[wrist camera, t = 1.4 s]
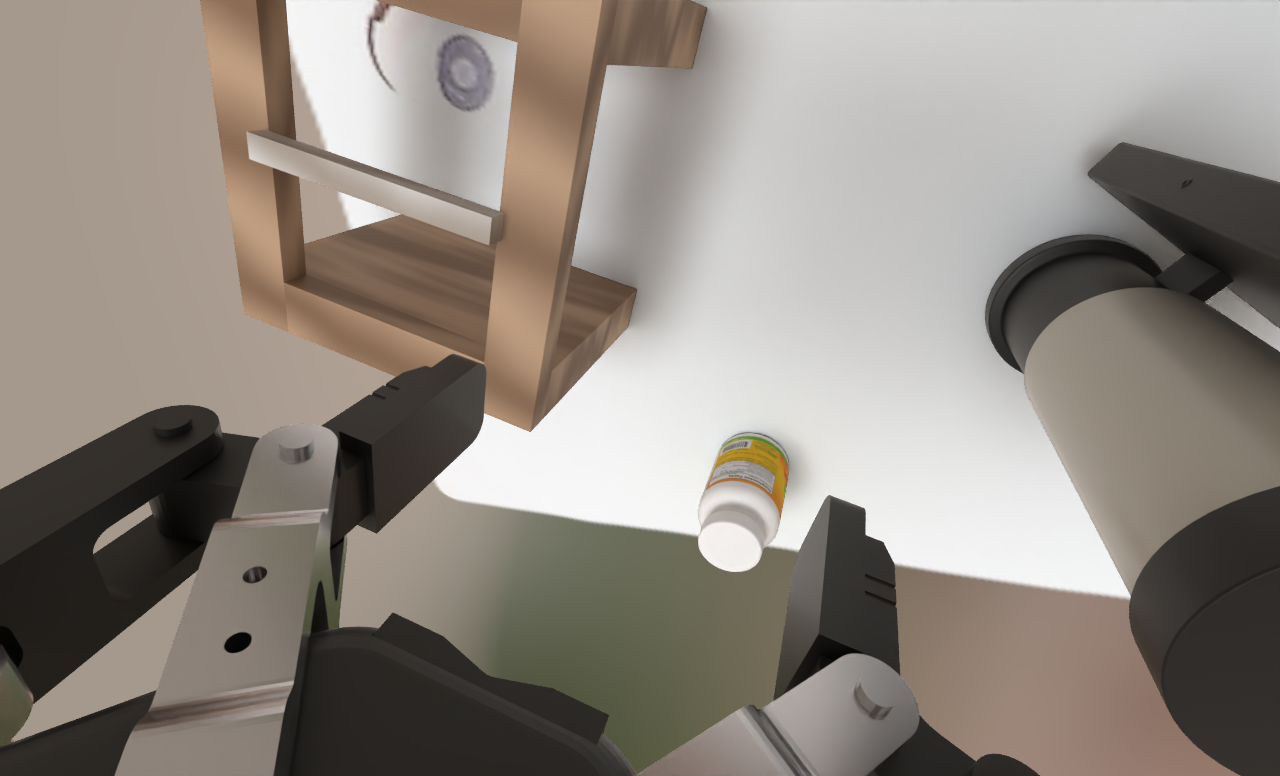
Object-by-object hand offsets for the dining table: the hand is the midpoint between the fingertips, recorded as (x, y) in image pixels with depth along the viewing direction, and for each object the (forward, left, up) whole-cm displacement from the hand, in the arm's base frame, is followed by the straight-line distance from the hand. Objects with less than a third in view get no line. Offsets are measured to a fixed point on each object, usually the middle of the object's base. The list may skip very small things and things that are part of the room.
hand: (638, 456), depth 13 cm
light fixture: (-1, +17, -27) cm, 32 cm away
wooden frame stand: (+1, -17, -27) cm, 32 cm away
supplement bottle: (+18, +4, -27) cm, 33 cm away
